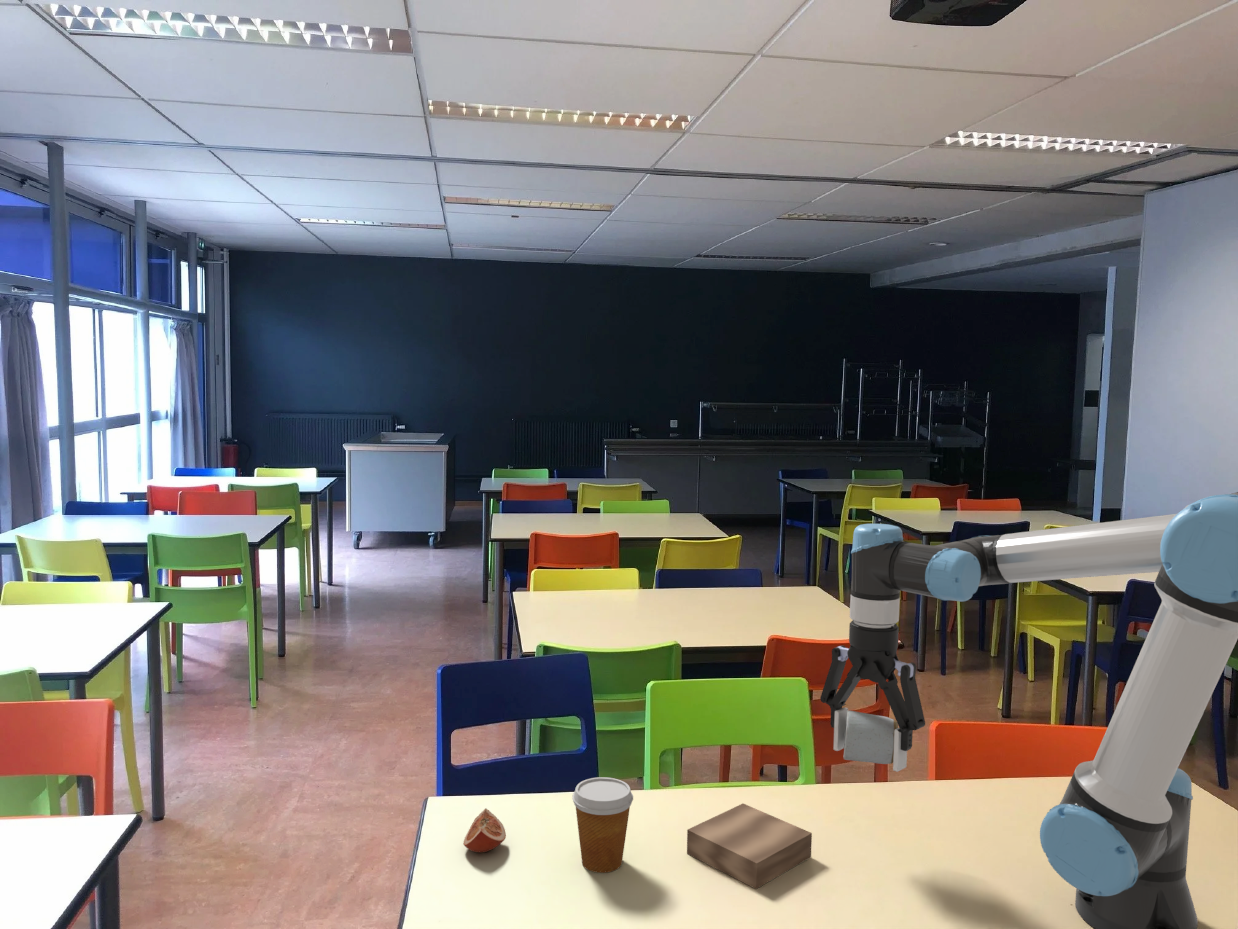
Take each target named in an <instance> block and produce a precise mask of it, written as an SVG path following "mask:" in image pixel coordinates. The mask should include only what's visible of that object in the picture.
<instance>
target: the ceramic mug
mask: <svg viewBox="0 0 1238 929" xmlns="http://www.w3.org/2000/svg"><path fill="white" fill-rule="evenodd" d="M897 728H899V725H898V723H897V721H896V719H895V718H894V719H893V718H891V717H888V716H883V715H878V714H877V715H876V714H872V713H871V714H870V713H865V712H862V711H861V712H860V711H855V710H850V709H848V711H847V717H846V730H845V744H844V748H843V760H846V761H854V762H863V763H873V764H879V765H881V764H882V765H891V764H892V765H893V758H894V731H895V729H897Z"/></svg>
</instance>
